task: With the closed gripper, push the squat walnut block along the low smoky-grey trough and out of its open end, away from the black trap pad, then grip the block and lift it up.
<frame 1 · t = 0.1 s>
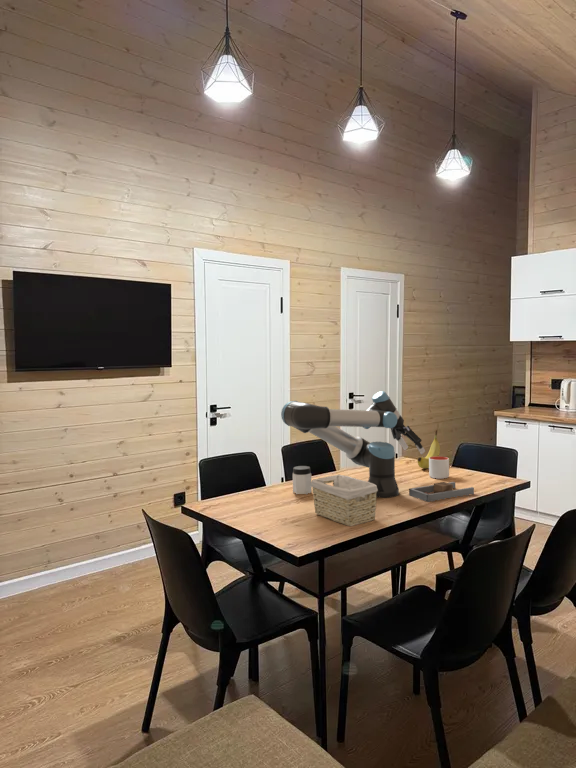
hand: (414, 450, 286), 15 cm above the table, tool tilted 35°, fingers open, 13 cm apart
banana: (428, 467, 318), on the table
trough: (441, 494, 259), on the table
storage basket: (344, 518, 228), on the table
cup: (439, 477, 293), on the table
walnut block: (443, 494, 259), on the table
jar: (302, 493, 269), on the table
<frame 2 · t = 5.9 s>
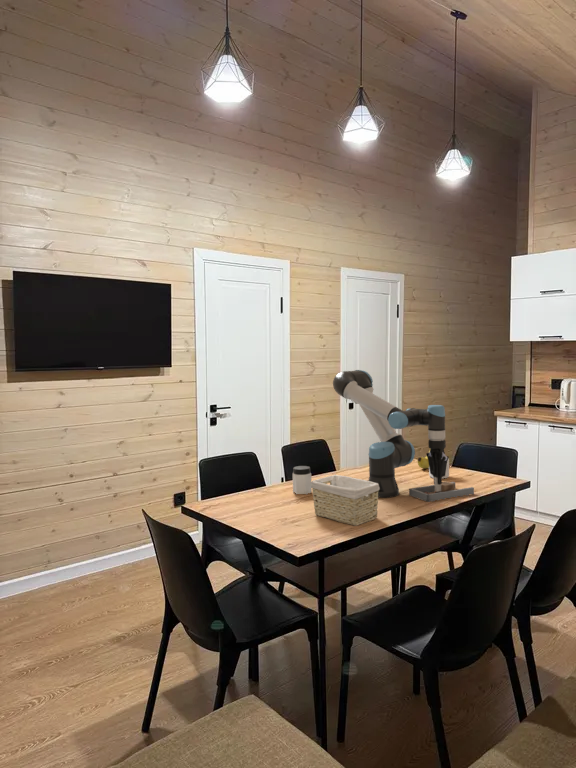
hand: (437, 490, 257), 2 cm above the table, tool pointing down, fingers closed
walnut block: (445, 494, 260), on the table
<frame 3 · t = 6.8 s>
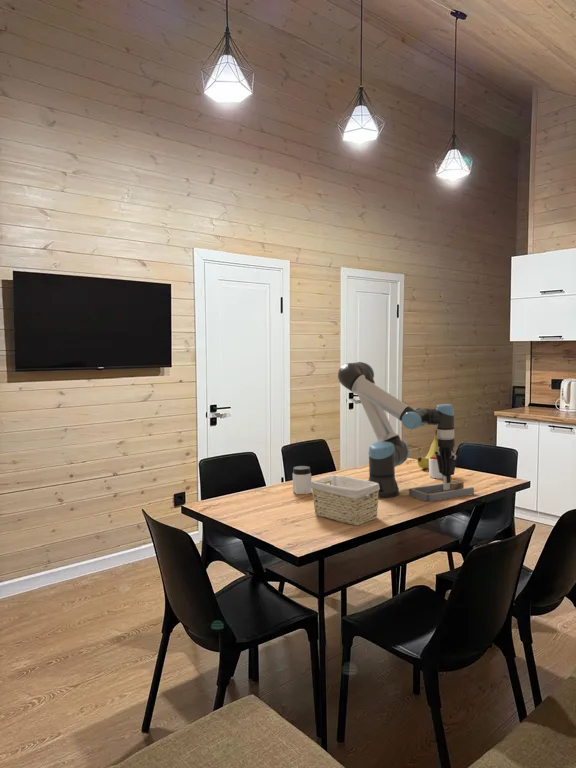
hand: (446, 489, 259), 2 cm above the table, tool pointing down, fingers closed
walnut block: (454, 492, 262), on the table, touching gripper
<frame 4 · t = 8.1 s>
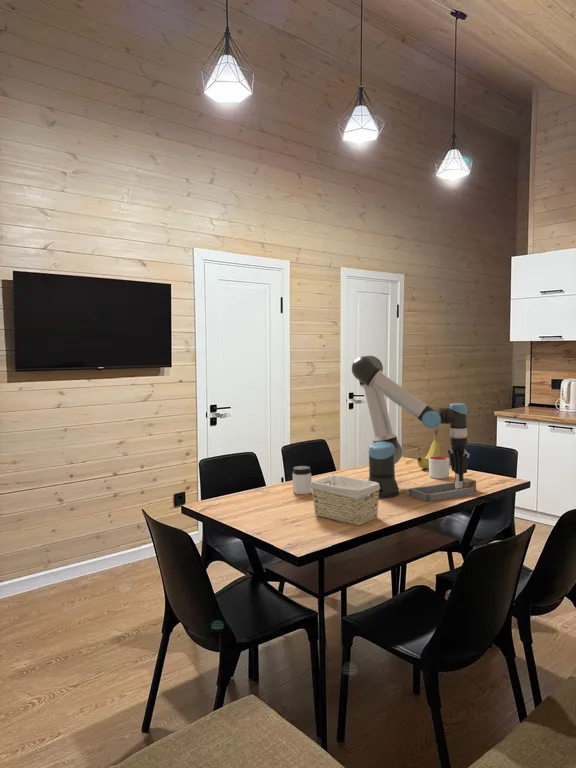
hand: (459, 487, 263), 2 cm above the table, tool pointing down, fingers closed
walnut block: (466, 490, 265), on the table
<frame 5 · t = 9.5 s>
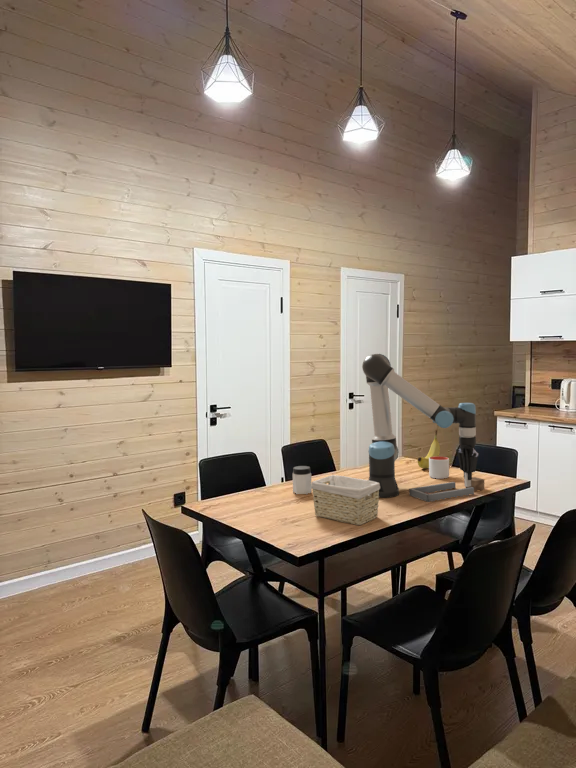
hand: (467, 486, 265), 2 cm above the table, tool pointing down, fingers closed
walnut block: (474, 489, 267), on the table
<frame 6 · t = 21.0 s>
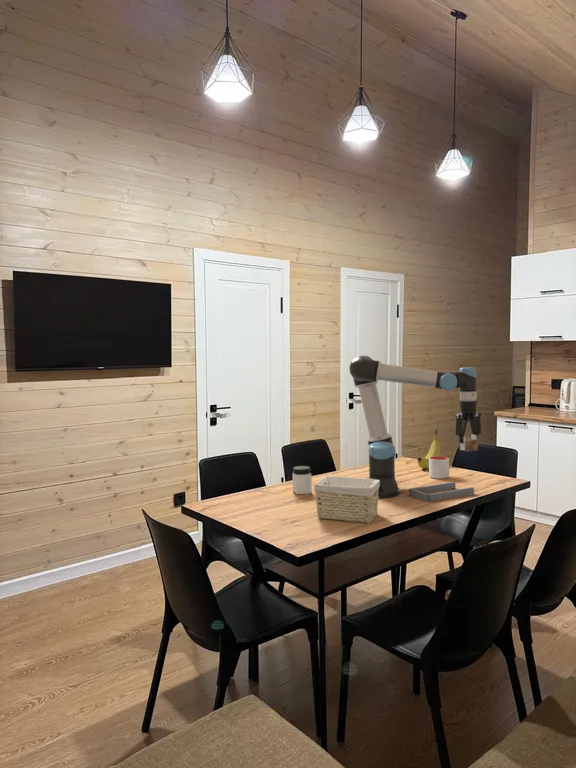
hand: (468, 449, 267), 19 cm above the table, tool pointing down, fingers closed on walnut block, 6 cm apart
walnut block: (468, 450, 267), point 18 cm above the table, touching gripper
at the end: walnut block inside the target area (3.5 cm from its centre), point 18.4 cm above the table; the gripper is holding walnut block; walnut block tilted 0° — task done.
